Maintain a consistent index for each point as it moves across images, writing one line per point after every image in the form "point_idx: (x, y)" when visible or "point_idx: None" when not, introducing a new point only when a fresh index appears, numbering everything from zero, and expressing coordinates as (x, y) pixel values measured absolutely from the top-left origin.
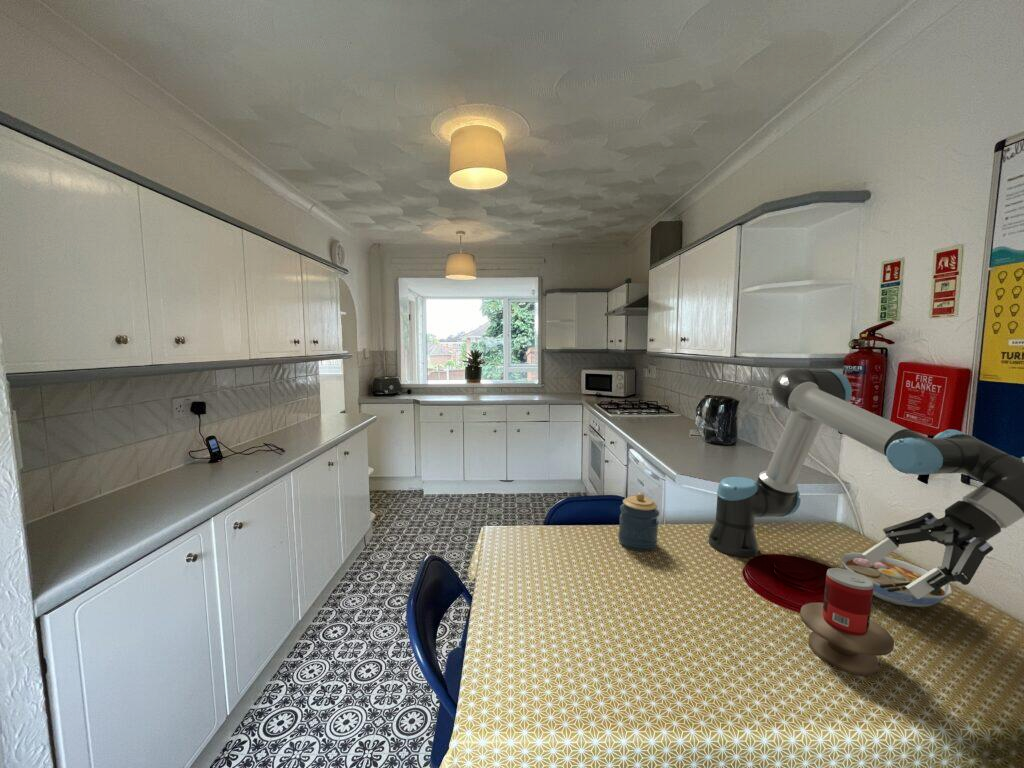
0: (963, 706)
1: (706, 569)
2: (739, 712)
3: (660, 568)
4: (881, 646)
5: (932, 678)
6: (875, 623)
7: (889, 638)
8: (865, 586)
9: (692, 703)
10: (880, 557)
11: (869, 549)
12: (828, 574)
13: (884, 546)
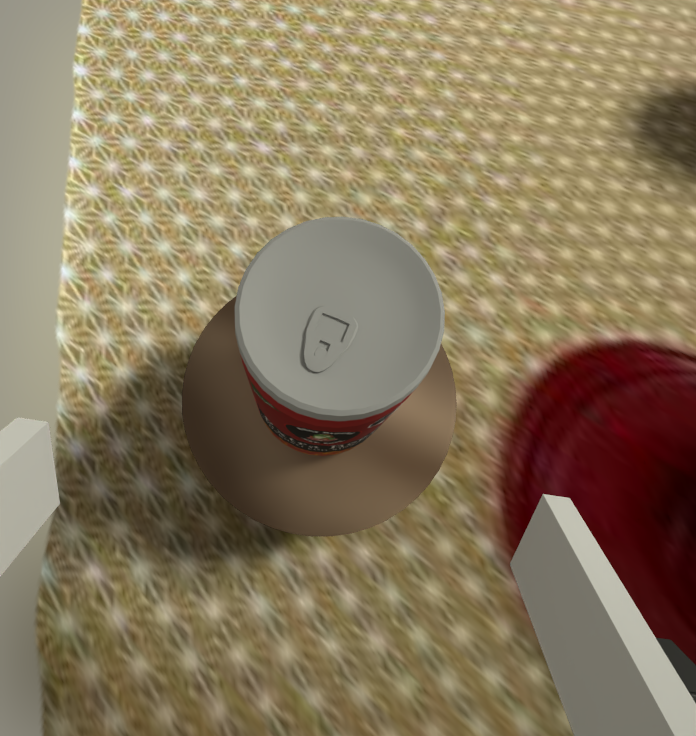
0: (116, 637)
1: (688, 255)
2: (122, 78)
3: (643, 132)
4: (206, 433)
5: (231, 643)
6: (345, 524)
7: (252, 504)
8: (240, 319)
9: (147, 16)
10: (544, 631)
11: (599, 554)
12: (367, 224)
13: (621, 699)
